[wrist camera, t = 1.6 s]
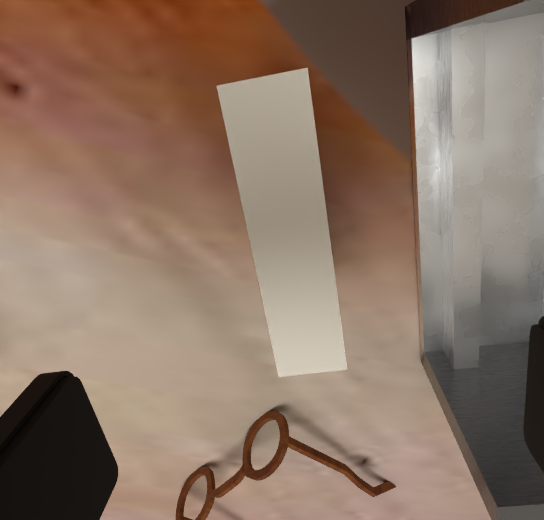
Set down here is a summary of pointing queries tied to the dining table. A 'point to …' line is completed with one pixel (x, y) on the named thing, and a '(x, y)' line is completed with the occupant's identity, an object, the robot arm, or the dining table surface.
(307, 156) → the door panel
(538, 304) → the door track
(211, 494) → the glasses
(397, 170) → the dining table surface
